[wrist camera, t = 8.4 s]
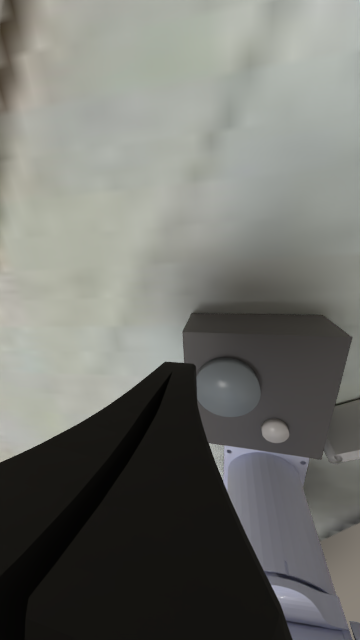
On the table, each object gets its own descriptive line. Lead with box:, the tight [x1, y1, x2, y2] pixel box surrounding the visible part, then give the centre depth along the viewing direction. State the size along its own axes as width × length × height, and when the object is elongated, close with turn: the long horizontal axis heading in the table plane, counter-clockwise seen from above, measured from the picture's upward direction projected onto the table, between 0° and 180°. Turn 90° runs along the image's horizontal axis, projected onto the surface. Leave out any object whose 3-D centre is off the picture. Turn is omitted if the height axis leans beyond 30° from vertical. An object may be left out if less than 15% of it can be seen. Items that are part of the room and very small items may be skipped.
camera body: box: [183, 313, 352, 460], centre depth 16 cm, size 10×10×5 cm
